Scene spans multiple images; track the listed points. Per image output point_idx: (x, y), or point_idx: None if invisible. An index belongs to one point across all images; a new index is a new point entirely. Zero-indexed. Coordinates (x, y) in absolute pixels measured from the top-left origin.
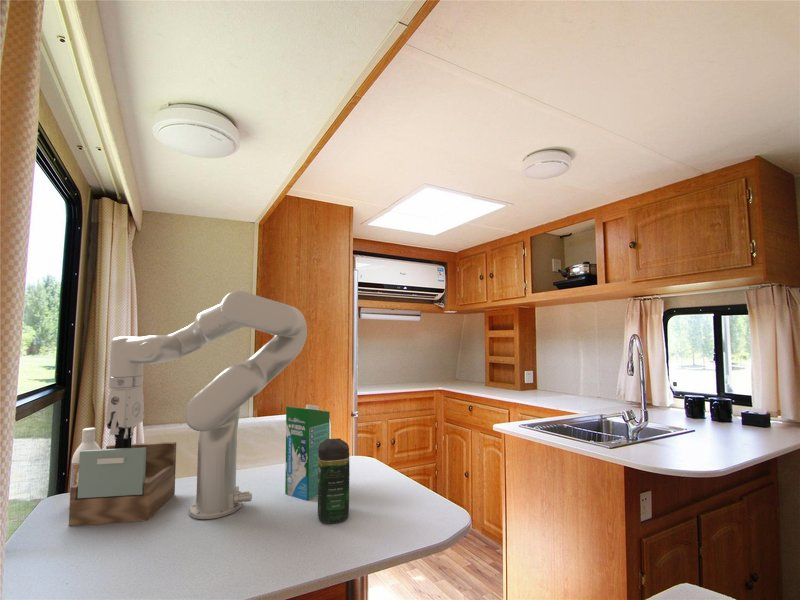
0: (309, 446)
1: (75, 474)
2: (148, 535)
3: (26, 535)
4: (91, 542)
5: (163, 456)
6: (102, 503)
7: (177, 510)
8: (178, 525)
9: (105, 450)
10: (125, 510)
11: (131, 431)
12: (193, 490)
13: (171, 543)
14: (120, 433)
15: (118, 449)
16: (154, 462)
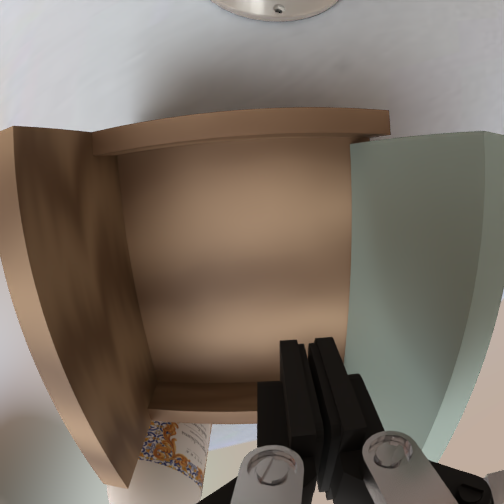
0: None
1: (205, 466)
2: (428, 88)
3: None
4: None
5: (69, 192)
6: None
7: (269, 64)
8: (377, 29)
9: (457, 423)
10: None
11: (281, 499)
12: (95, 101)
13: (457, 29)
14: (482, 480)
15: (476, 359)
16: (94, 236)
